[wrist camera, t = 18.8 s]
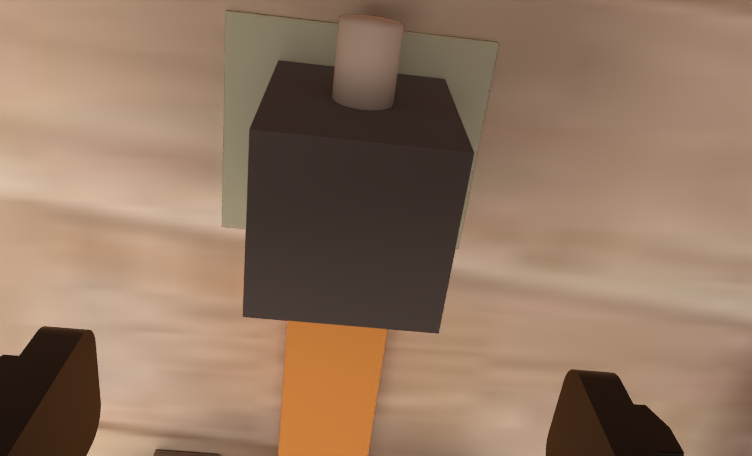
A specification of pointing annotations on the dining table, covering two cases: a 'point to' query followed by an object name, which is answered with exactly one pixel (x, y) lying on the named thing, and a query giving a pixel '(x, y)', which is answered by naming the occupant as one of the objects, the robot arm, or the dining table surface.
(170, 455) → the housing
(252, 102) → the pad
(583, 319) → the dining table surface
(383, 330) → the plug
